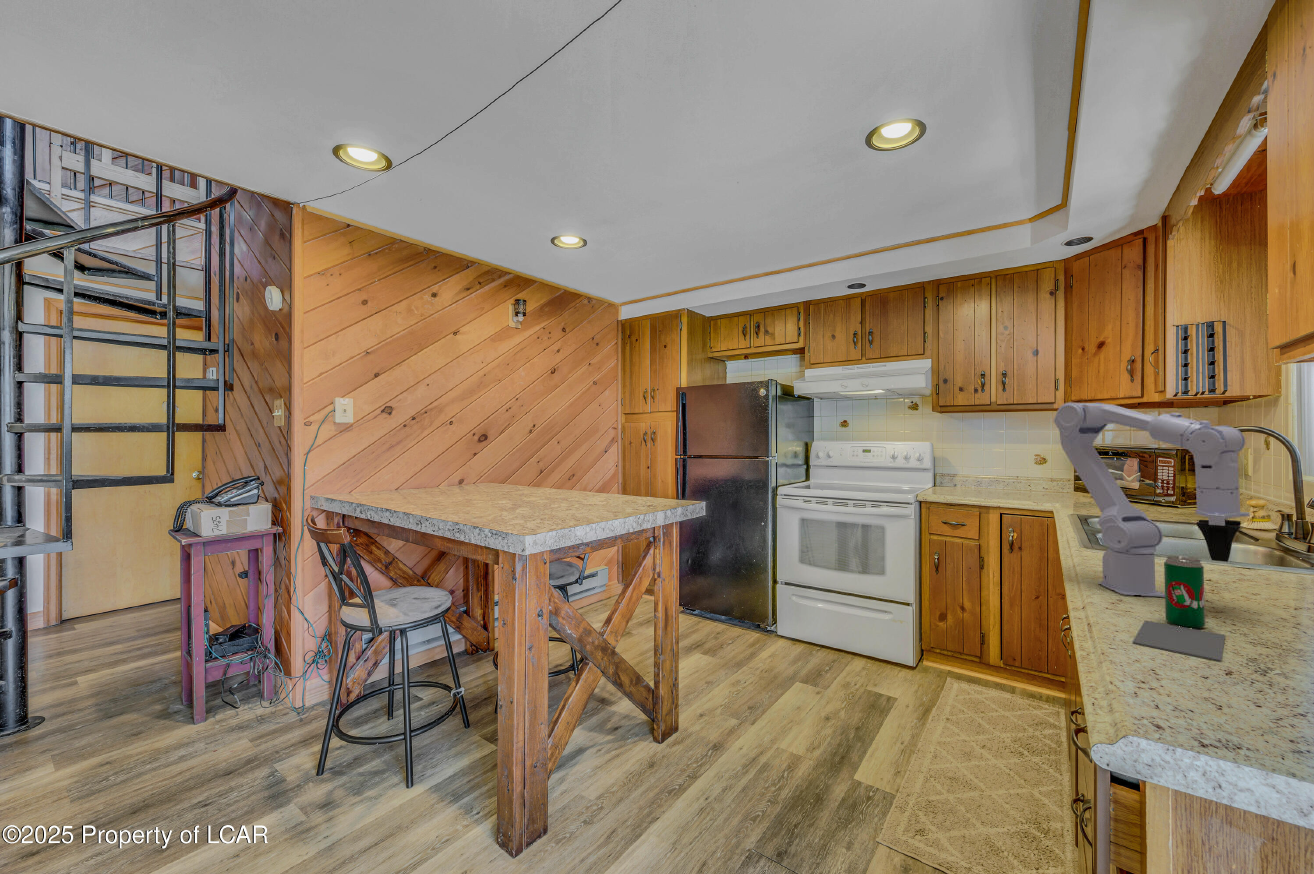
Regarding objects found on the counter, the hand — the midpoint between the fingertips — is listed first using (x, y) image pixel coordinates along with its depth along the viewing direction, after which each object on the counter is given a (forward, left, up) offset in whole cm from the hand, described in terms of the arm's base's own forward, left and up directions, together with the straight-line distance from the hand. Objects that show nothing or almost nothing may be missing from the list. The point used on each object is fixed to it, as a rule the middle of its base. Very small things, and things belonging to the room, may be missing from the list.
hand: (1220, 558), depth 100 cm
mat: (+17, -17, -10) cm, 27 cm away
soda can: (+9, -11, -11) cm, 18 cm away
